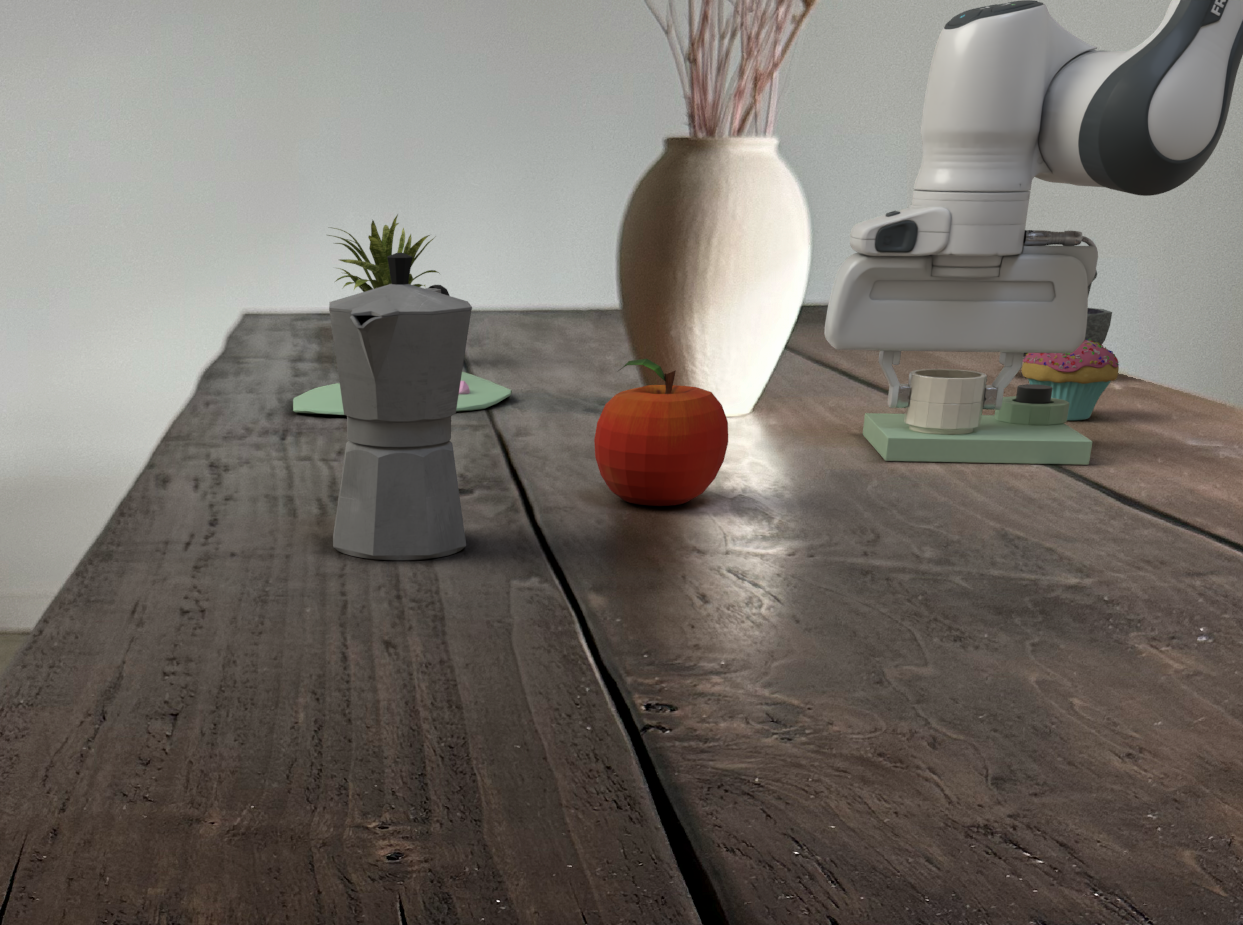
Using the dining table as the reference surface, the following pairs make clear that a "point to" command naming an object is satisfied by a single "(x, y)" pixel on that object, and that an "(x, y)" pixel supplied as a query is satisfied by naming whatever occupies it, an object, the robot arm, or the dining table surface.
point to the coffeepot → (399, 418)
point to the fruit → (661, 441)
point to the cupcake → (1074, 375)
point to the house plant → (380, 257)
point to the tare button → (1034, 394)
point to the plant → (470, 397)
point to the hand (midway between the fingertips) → (942, 408)
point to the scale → (986, 437)
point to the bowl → (945, 401)
